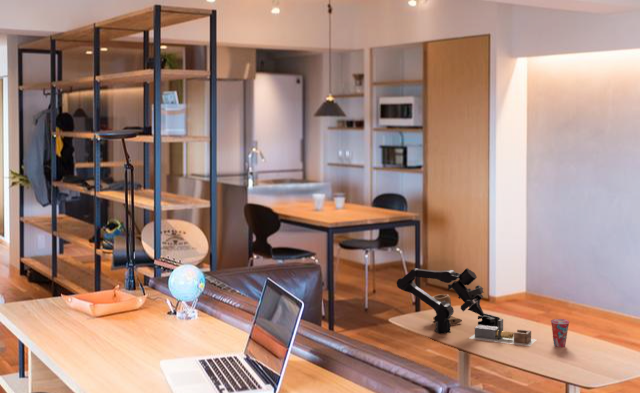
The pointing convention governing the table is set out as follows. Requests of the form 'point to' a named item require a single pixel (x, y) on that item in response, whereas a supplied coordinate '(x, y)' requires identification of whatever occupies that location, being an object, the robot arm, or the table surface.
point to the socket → (522, 336)
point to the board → (504, 340)
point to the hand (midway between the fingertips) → (483, 315)
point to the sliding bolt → (501, 333)
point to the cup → (559, 331)
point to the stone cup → (447, 298)
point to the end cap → (488, 320)
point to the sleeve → (486, 332)
